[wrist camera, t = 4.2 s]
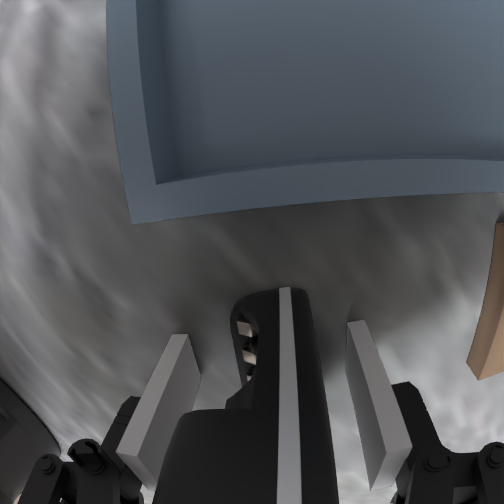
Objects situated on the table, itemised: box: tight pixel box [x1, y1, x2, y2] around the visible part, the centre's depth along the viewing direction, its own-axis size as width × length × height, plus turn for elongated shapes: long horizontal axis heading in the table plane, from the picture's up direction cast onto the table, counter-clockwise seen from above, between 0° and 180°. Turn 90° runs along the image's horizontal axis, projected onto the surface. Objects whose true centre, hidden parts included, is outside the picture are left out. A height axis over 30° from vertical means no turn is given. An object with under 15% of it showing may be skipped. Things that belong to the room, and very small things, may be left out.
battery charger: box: [152, 287, 339, 504], centre depth 8 cm, size 7×4×11 cm, turn 7°
